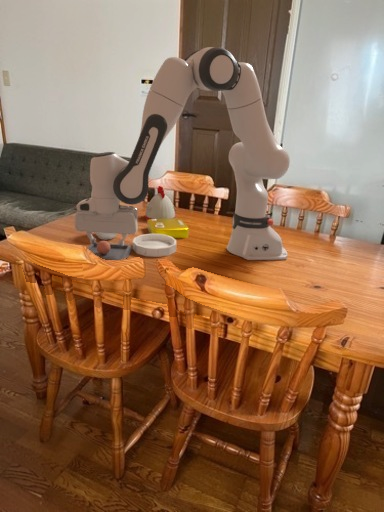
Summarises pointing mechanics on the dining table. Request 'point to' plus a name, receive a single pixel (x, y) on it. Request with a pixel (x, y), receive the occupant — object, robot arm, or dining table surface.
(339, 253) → the dining table surface
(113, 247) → the tray
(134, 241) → the white round dish
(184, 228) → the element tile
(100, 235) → the lidded jar
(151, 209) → the white chicken figure
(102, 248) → the ball
